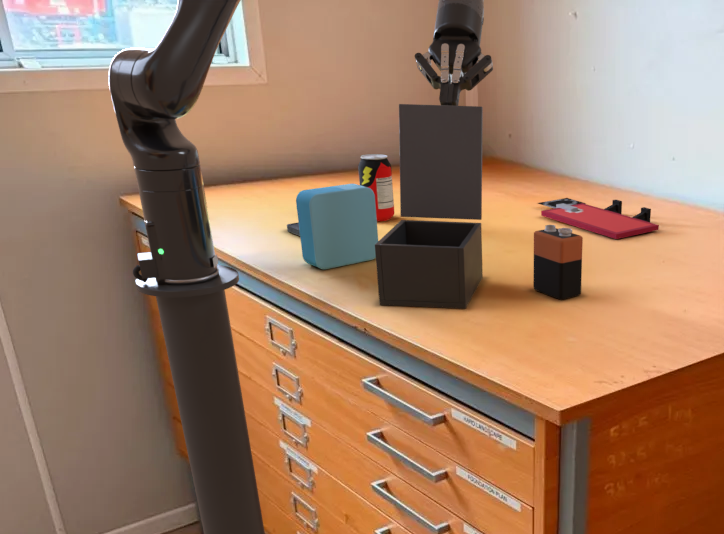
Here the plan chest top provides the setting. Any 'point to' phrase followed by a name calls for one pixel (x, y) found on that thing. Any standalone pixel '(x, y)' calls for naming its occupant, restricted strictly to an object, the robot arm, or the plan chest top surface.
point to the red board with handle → (600, 218)
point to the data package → (337, 225)
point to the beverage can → (378, 183)
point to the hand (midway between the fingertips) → (448, 107)
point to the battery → (557, 262)
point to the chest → (429, 264)
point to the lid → (440, 161)
